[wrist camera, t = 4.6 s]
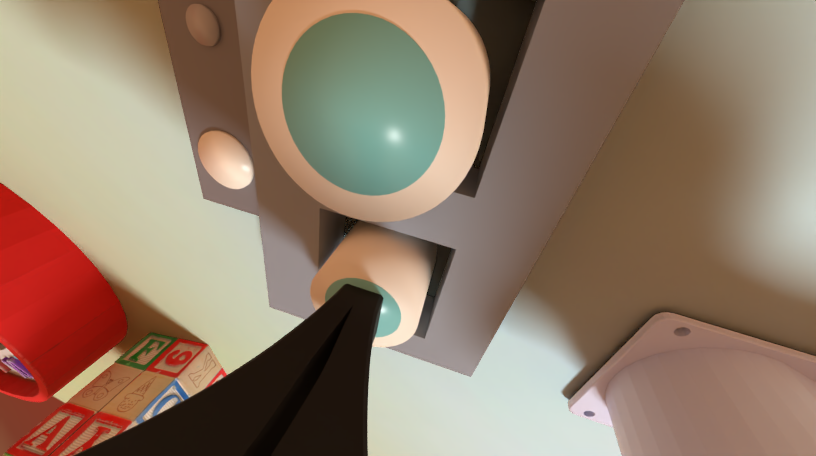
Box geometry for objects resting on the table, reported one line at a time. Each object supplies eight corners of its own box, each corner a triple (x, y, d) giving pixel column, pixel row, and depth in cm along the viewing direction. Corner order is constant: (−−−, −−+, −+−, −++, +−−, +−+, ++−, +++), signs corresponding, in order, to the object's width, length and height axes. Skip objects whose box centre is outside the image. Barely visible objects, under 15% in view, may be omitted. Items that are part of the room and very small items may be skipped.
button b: (515, 13, 7) (531, -11, 4) (464, 174, 9) (446, 248, 6) (349, -23, 7) (232, -72, 4) (340, 140, 9) (260, 191, 6)
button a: (447, 223, 12) (430, 287, 9) (426, 291, 14) (406, 361, 11) (356, 196, 13) (309, 249, 10) (349, 266, 15) (309, 327, 12)
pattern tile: (223, -378, 6) (202, -410, 6) (272, 214, 15) (265, 220, 14) (84, -389, 7) (54, -421, 6) (209, 195, 15) (201, 199, 15)
